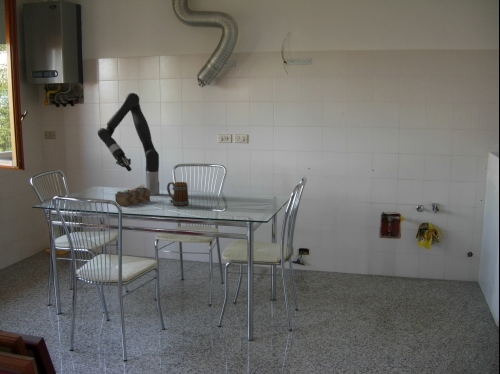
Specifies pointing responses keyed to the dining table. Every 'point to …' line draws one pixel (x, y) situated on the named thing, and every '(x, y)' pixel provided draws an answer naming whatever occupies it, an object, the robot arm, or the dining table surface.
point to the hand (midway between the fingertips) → (130, 170)
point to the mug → (179, 194)
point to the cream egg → (141, 186)
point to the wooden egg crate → (132, 197)
